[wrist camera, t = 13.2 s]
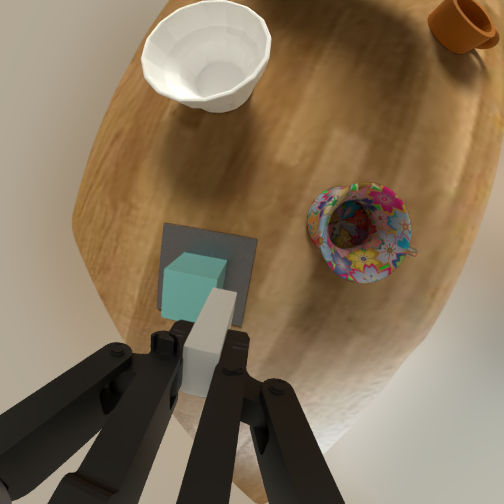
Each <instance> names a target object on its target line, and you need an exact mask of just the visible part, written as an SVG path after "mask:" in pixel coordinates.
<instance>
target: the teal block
mask: <svg viewBox="0 0 504 504" xmlns="http://www.w3.org/2000/svg"><path fill="white" fill-rule="evenodd" d="M226 265H227V260H223V259H218V258H213V257H207V256H202V255H196V254H191V253H186V252H184V253H183V254H182V255H180V256H179V257H178V258H177V259H176V260H174V261H173V262H172V263H171V264H169V265H168V266H167V267H166V268H165V269H164V279H163V293H162V310H161V317H163V318H167V319H171V320H176V321H179V320H181V319H182V320H186V321H191V322H196V320H197V318H198V316H199V314H200V312H201V310H202V308H203V306H204V304H205V302H206V300H207V298H208V296H209V294H210V292H211V290H212V288H213V287H214V288H218V289H223V285H224V278H225V272H226Z"/></svg>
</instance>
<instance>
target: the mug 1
mask: <svg viewBox="0 0 504 504" xmlns="http://www.w3.org/2000/svg"><path fill="white" fill-rule="evenodd" d="M307 224H308V231H309V234H310V236H311V238H312V240H313V242H314V243H315V244H316V245H317V246H318V247H319V248H320V250H321V253H322V255H323V258H324V260H325V261H326V263H327V265H328V266H329V267H330V268H331V269H332V270H333V272H335V273H336V274H337V275H338V276H340V277H341V278H343V279H345V280H347V281H350V282H354V283H372V282H376V281H378V280H381V279H383V278H385V277H387V276H388V275H390V274H391V273H392V272H393V271H394V270H395V269H396V268H397V267H398V266H399V265H400V264H401V262H402V261H403V259H404V257H405V255H406V253H407V254H409V255H412V256H414V257H415V256H416V255H417V253H418V251H417V250H416V249H414V248H411V247H409V245H410V240H411V222H410V217H409V214H408V211H407V209H406V207H405V205H404V203H403V202H402V200H401V199H400V198H399V197H398V196H397V195H396V194H395V193H394V192H393V191H392V190H390V189H389V188H387V187H385V186H383V185H380V184H377V183H371V182H362V183H356V184H353V185H350V186H348V187H334V188H330V189H328V190H326V191H324V192H322V193H321V194H320V195H319V196H318V197H317V198H316V199H315V200H314V202H313V203H312V205H311V207H310V209H309V213H308V219H307Z"/></svg>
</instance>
